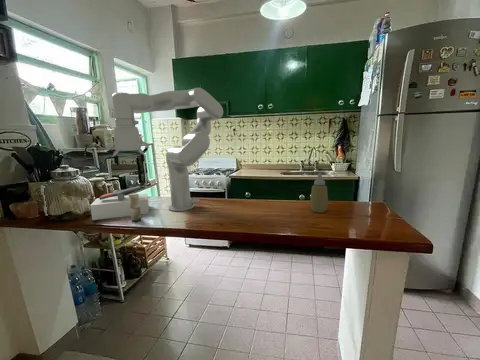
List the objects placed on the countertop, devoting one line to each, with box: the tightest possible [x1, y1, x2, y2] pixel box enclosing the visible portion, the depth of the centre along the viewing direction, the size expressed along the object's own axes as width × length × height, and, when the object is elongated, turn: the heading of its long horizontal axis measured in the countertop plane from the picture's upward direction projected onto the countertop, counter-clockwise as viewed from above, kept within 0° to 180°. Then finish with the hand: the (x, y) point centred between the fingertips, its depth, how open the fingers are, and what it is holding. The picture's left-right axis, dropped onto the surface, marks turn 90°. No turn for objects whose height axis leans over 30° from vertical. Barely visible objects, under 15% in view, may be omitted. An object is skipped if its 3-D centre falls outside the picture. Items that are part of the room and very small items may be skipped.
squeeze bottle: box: [309, 172, 329, 214], centre depth 112 cm, size 8×8×18 cm
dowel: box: [128, 192, 142, 223], centre depth 107 cm, size 4×4×12 cm
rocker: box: [98, 185, 141, 200], centre depth 119 cm, size 18×5×1 cm, turn 110°
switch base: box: [89, 189, 150, 221], centre depth 120 cm, size 24×14×11 cm, turn 110°
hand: (130, 164), depth 106 cm, fingers open, 9 cm apart
